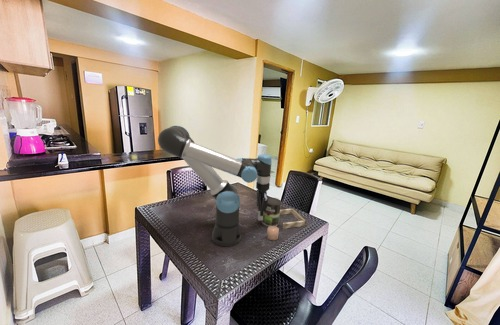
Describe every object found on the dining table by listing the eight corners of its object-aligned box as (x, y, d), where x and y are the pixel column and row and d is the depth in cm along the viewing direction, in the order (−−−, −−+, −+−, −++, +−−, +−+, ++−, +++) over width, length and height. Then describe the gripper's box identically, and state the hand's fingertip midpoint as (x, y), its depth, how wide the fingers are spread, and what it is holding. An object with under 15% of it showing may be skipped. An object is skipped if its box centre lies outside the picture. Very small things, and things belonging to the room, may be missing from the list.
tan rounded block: (269, 241, 108) (270, 232, 107) (265, 234, 114) (265, 226, 112) (279, 239, 110) (280, 231, 109) (275, 233, 116) (275, 225, 114)
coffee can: (275, 228, 119) (277, 206, 116) (259, 223, 124) (261, 201, 120) (281, 221, 128) (283, 200, 125) (266, 216, 133) (268, 195, 129)
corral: (283, 228, 120) (283, 224, 119) (271, 214, 135) (272, 210, 134) (305, 225, 125) (306, 221, 124) (292, 212, 140) (292, 208, 139)
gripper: (274, 185, 112) (270, 224, 118) (264, 177, 124) (262, 213, 130) (261, 186, 110) (258, 226, 116) (253, 178, 122) (250, 214, 128)
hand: (260, 219), depth 123 cm, fingers closed
